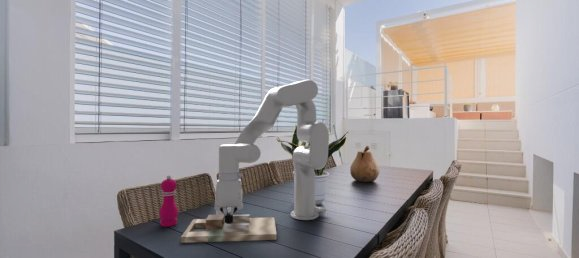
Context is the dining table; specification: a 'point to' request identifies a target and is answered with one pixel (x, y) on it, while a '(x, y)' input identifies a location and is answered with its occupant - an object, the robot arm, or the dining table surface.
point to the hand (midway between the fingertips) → (228, 224)
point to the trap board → (232, 230)
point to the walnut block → (215, 221)
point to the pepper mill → (168, 203)
